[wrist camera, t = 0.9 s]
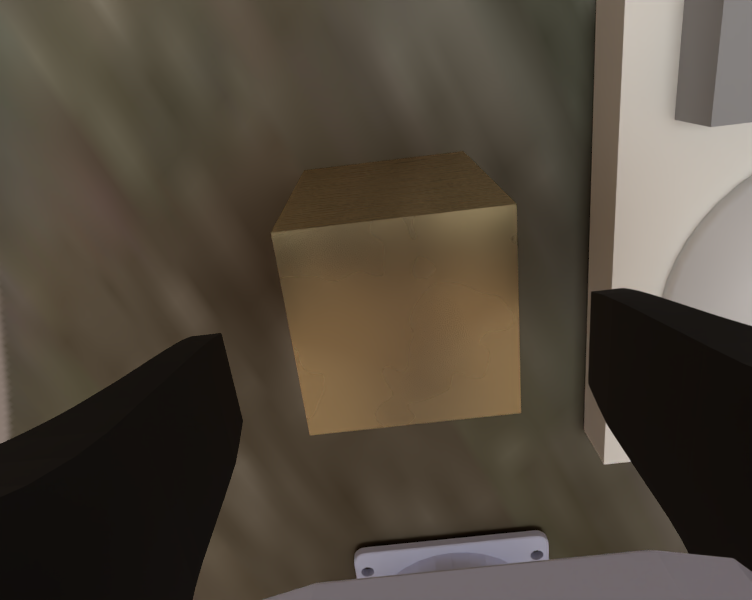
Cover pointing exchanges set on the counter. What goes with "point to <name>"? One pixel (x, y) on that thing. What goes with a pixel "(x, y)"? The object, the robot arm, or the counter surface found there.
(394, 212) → the block
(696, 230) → the kitchen scale
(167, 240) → the counter surface
